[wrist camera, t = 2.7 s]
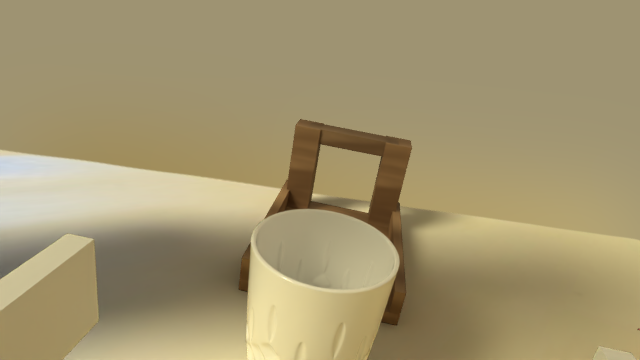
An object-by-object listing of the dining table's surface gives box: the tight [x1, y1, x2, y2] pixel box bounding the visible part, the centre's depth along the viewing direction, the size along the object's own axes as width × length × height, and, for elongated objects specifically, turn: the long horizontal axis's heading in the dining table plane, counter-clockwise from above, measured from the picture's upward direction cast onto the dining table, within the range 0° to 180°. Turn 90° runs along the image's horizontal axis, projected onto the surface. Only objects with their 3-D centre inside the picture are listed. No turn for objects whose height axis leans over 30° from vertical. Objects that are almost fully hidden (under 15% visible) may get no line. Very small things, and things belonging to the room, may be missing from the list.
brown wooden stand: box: [239, 119, 412, 325], centre depth 38 cm, size 16×12×10 cm
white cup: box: [246, 209, 400, 360], centre depth 24 cm, size 8×8×10 cm
